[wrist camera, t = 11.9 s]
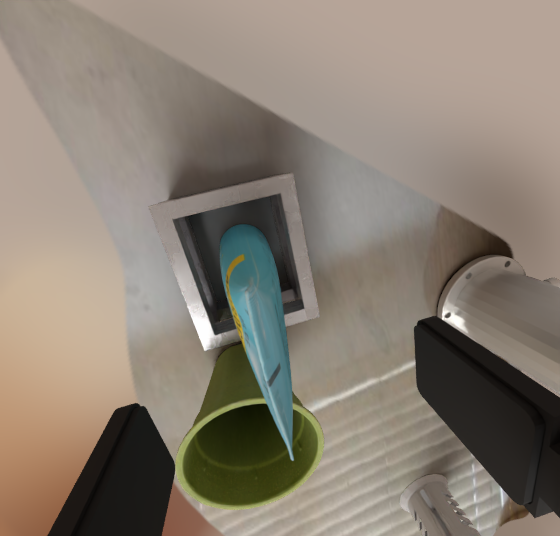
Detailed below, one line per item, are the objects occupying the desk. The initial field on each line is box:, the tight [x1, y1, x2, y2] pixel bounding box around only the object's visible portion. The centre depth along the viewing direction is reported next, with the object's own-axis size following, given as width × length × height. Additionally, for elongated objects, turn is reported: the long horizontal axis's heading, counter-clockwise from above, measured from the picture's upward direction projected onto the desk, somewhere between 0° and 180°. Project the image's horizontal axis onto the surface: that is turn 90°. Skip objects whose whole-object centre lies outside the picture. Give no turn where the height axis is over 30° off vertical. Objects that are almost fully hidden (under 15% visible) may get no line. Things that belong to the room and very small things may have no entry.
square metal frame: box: [149, 173, 320, 351], centre depth 24 cm, size 10×12×6 cm
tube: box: [219, 224, 294, 461], centre depth 18 cm, size 7×5×19 cm, turn 17°
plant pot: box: [175, 344, 324, 510], centre depth 26 cm, size 12×12×11 cm
